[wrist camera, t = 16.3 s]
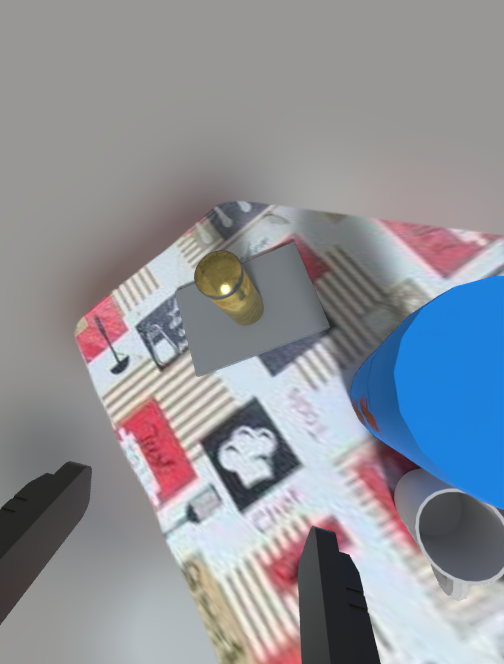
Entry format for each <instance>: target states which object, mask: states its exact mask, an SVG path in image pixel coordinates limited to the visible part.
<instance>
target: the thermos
mask: <svg viewBox="0 0 504 664" xmlns="http://www.w3.org/2000/svg"><path fill="white" fill-rule="evenodd" d="M351 399H352V406H353V408H354V410H355V412H356V415H357V417H358V419H359V420H360V422H361V423H362V424H363V425H364V426H365V427H366V428H367V429H368V430H369V431H370V432H371V433H372V434H373V435H374V436H375V437H377V438H378V439H380V440H381V441H383V442H384V443H386V444H387V445H389V446H390V447H392V448H393V449H395V450H396V451H398V452H399V453H401V454H402V455H404V456H405V457H407V458H408V459H410V460H411V461H413V462H414V463H416V464H417V465H419V466H420V467H422V468H423V469H425V470H426V471H428V472H429V473H431V474H432V475H434V476H435V477H437V478H438V479H440V480H442V481H444V482H445V483H447V484H449V485H451V486H453V487H455V488H457V489H459V490H461V491H462V492H464V493H466V494H468V495H470V496H472V497H474V498H476V499H478V500H480V501H481V502H484V503H487V504H489V505H492V506H495V507H498V508H500V509H503V510H504V276H493V277H489V278H485V279H482V280H478V281H474V282H470V283H467V284H463V285H459V286H456V287H453V288H451V289H450V290H448V291H446V292H444V293H442V294H441V295H439V296H437V297H436V298H434V299H433V300H431V301H430V302H428V303H427V304H425V305H424V306H422V307H421V308H419V309H418V310H416V311H415V312H413V313H412V314H410V315H409V316H408V317H407V318H406V319H405V320H404V321H403V322H402V323H401V324H400V325H399V326H398V327H397V329H396V330H395V331H394V332H393V333H392V334H391V335H390V336H389V337H388V338H387V339H386V340H385V341H384V342H383V343H382V344H381V345H380V346H379V347H378V348H377V349H376V350H375V351H374V352H373V353H372V354H371V355H370V357H369V358H368V359H367V360H366V361H365V362H364V363H363V365H362V366H361V367H360V369H359V370H358V372H357V373H356V374H355V377H354V380H353V384H352V388H351Z"/></svg>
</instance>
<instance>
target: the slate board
mask: <svg viewBox="0 0 504 664" xmlns="http://www.w3.org/2000/svg"><path fill="white" fill-rule="evenodd" d="M242 266H243V269H244V271H245V272H246V274H247V276H248V277H249V279H250V281H251V282H252V284H253V285H254V287H255V289H256V290H257V292H258V294H259V295H260V297H261V299H262V300H263V303H264V311H263V314H262V316H261V317H260V319H259V320H258V321H257V322H255V323H253V324H251V325H240V324H238V323H236V322H235V321H234V320H232V319H231V318H230V317H229V316H228V315H227V314H226V313H225V312H224V311H222V310H221V309H220V308H219V307H218V306H217V305H216V304H215V303H214V302H213V301H211V300H210V299H209V298H208V297H206V296H205V295H204V294H202V293H201V292H200V291H199V290H198V288H197V286H196V284H192V285H190V286H188V287H185V288H183V289H180V290H178V291H176V292H175V294H176V298H177V302H178V306H179V310H180V314H181V318H182V322H183V325H184V329H185V333H186V337H187V341H188V345H189V349H190V353H191V356H192V360H193V364H194V368H195V372H196V376H198V377H200V376H203V375H205V374H208V373H211V372H214V371H216V370H219V369H222V368H224V367H227V366H230V365H232V364H235V363H238V362H241V361H243V360H246V359H249V358H251V357H254V356H257V355H260V354H262V353H265V352H268V351H270V350H273V349H276V348H279V347H281V346H284V345H287V344H289V343H292V342H295V341H298V340H300V339H303V338H306V337H308V336H311V335H314V334H317V333H319V332H322V331H325V330H327V329H330V325H329V322H328V320H327V318H326V315H325V313H324V310H323V308H322V306H321V303H320V301H319V299H318V296H317V294H316V291H315V289H314V287H313V284H312V282H311V280H310V277H309V275H308V272H307V270H306V268H305V265H304V263H303V261H302V258H301V256H300V253H299V251H298V249H297V246H296V244H295V242H292V243H290V244H287V245H285V246H283V247H280V248H278V249H275V250H273V251H271V252H268V253H266V254H264V255H261V256H259V257H256V258H254V259H252V260H249V261H247V262H245V263H242Z"/></svg>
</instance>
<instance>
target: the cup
mask: <svg viewBox="0 0 504 664" xmlns="http://www.w3.org/2000/svg"><path fill="white" fill-rule="evenodd" d="M394 501H395V506H396V509H397V512H398V514H399V516H400V518H401V520H402V522H403V523H404V525H405V526H406V528H407V529H408V531H409V532H410V534H411V535H412V537H413V538H414V540H415V541H416V543H417V544H418V546H419V547H420V549H421V551H422V552H423V554H424V555H425V556H426V558H427V559H428V560H429V562H430V563H431V566H432V569H433V572H434V574H435V576H436V578H437V581H438V583H439V585H440V586H441V588H442V589H443V591H444V592H445V593H446V594H447V595H448V596H450V597H451V598H453V599H455V600H458V601H460V600H463V599H466V597H467V596H468V592H469V585H484V584H488V583H492V582H493V581H495V580H497V579H498V578H500V577H501V576H502V575H503V574H504V518H503V516H502V515H501V514H500V513H499V512H498V511H497V509H496V508H495V507H494V506H492V505H489V504H487V503H484V502H481V501H480V500H478V499H476V498H474V497H472V496H470V495H468V494H466V493H464V492H462V491H461V490H459V489H457V488H455V487H453V486H451V485H449V484H447V483H445V482H444V481H442V480H440V479H438V478H437V477H435V476H434V475H432V474H431V473H429V472H428V471H426V470H425V469H415V470H412V471H409V472H408V473H406V474H405V475H403V476H402V477H401V479H400V480H399V481H398V483H397V485H396V488H395V494H394Z"/></svg>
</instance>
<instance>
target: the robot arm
mask: <svg viewBox="0 0 504 664" xmlns="http://www.w3.org/2000/svg"><path fill="white" fill-rule="evenodd" d="M91 474H92V468H91V467H90V466H87V465H83V464H80V463H76V462H72V461H69V462H67V463H65V464H64V465H63V466H62V467H61V468H60V469H59V470H58V471H57V472H56V473H55V474H54V475H53V474H49V473H46V474H44V475H42V476H40V477H39V478H37V479H35V480H33V481H31V482H29V483H28V484H27V485H26V486H25V487H24V488H22V489H21V490H20V491H19V492H18V493H17V494H16V495H15V496H14V498H13V499H10V500H9V501H8V502H7V503H6V504H5V505H4V506H2V508H1V510H0V625H1V623H2V622H3V621H4V619H5V618H6V617H7V615H8V614H9V613H10V611H11V610H12V609H13V607H14V606H15V605H16V603H17V602H18V601H19V600H20V598H21V597H22V596H23V594H24V593H25V592H26V590H27V589H28V588H29V586H30V585H31V584H32V583H33V581H34V580H35V579H36V577H37V576H38V575H39V573H40V572H41V571H42V569H43V568H44V567H45V566H46V564H47V563H48V562H49V560H50V559H51V558H52V556H53V555H54V554H55V552H56V551H57V550H58V549H59V547H60V546H61V544H62V543H63V542H64V541H65V539H66V538H67V537H68V535H69V534H70V533H71V532H72V530H73V529H74V528H75V526H76V525H77V524H78V522H79V521H80V520H81V518H82V517H83V515H84V513H85V511H86V509H87V507H88V504H89V500H90V487H91ZM298 590H299V612H300V635H301V658H302V664H381V663H380V659H379V654H378V650H377V646H376V642H375V638H374V633H373V629H372V625H371V621H370V616H369V613H368V611H367V610H368V608H367V604H366V600H365V596H364V591H363V587H362V583H361V578H360V574H359V572H358V570H357V568H356V566H355V564H354V563H353V561H352V559H351V557H350V555H349V554H345V553H341V552H339V548H338V543H337V538H336V534H335V532H334V531H330V530H326V529H322V528H319V527H315V526H312V527H311V529H310V532H309V535H308V537H307V540H306V543H305V546H304V549H303V552H302V555H301V558H300V562H299V569H298Z"/></svg>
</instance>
